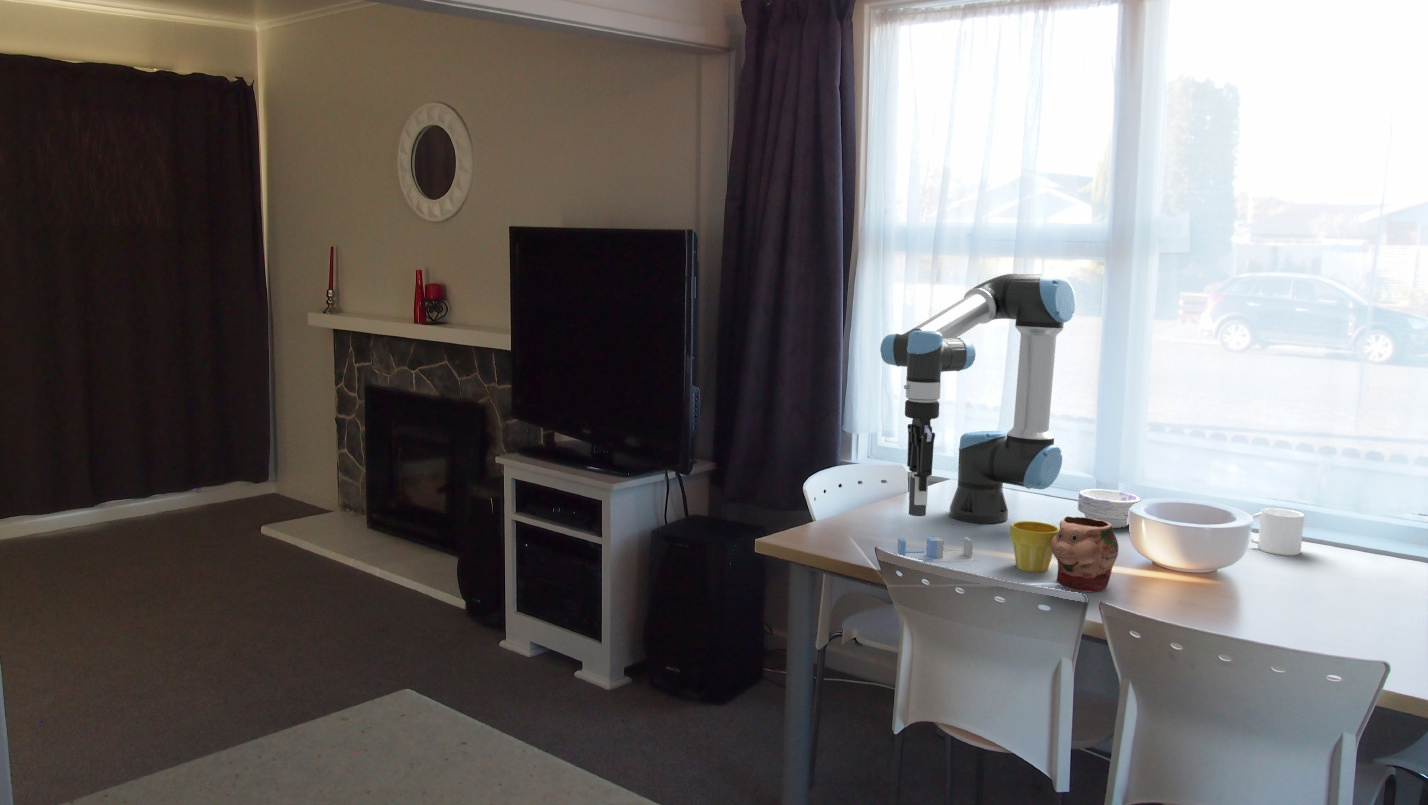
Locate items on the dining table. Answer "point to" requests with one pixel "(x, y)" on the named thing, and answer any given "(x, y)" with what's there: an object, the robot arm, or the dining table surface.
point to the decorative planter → (1084, 553)
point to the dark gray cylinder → (913, 509)
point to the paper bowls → (1106, 505)
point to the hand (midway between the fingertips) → (917, 502)
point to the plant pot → (1032, 544)
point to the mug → (1280, 531)
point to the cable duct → (937, 551)
